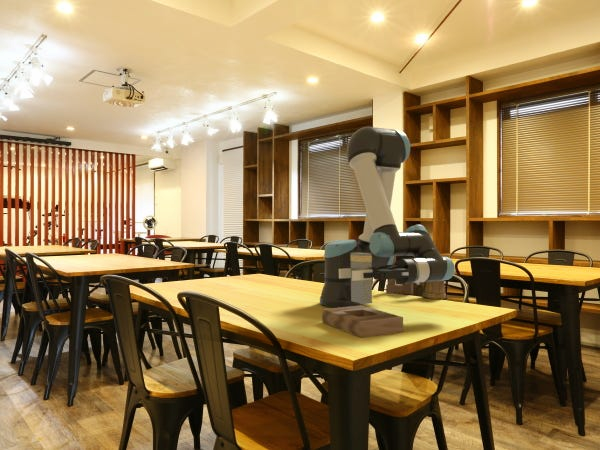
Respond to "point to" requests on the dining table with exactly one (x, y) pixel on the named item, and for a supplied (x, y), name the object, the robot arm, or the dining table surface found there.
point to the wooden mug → (434, 290)
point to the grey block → (361, 288)
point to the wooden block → (398, 285)
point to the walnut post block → (362, 321)
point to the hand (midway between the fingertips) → (346, 274)
